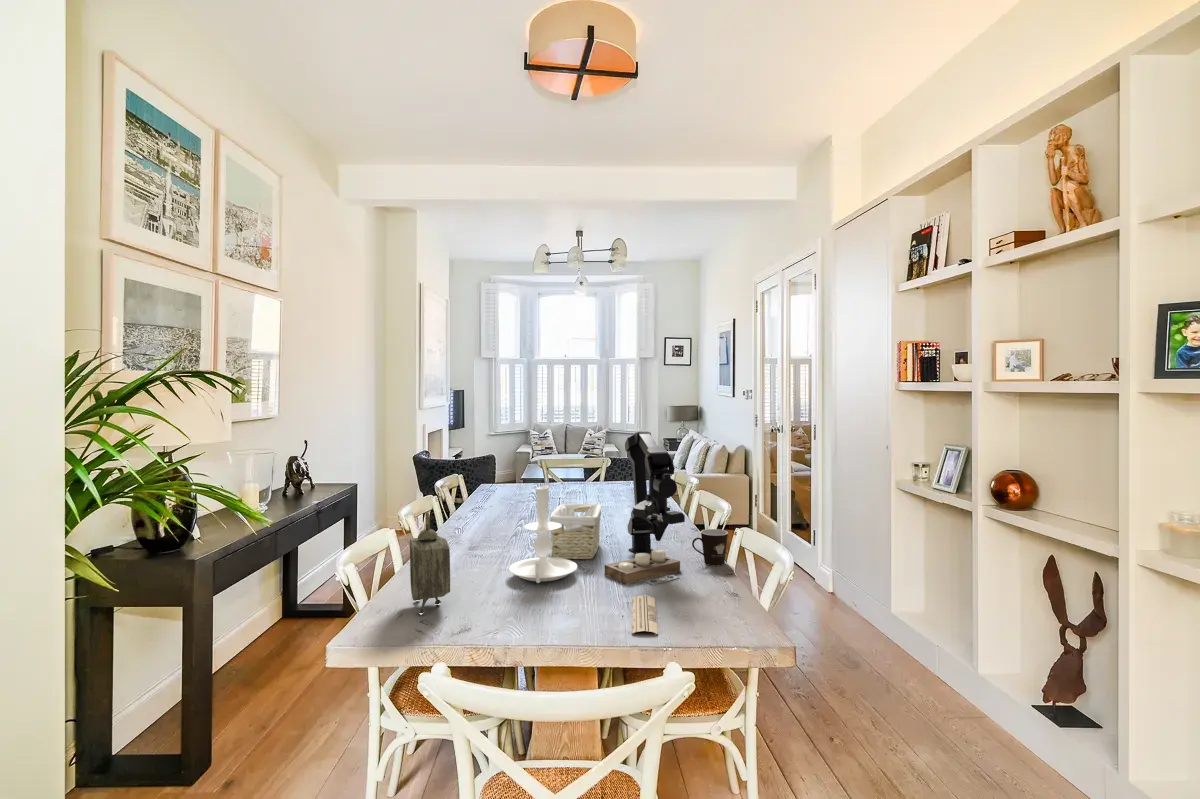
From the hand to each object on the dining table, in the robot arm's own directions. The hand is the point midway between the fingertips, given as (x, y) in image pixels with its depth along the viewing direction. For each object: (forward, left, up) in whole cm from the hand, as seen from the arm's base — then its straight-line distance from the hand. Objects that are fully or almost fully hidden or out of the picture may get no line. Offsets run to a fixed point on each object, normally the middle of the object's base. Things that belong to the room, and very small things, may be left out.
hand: (658, 540), depth 190 cm
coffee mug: (+5, +17, -9) cm, 20 cm away
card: (+9, -7, -9) cm, 14 cm away
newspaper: (+28, -28, -10) cm, 40 cm away
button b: (0, -7, -7) cm, 9 cm away
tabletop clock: (-11, -70, -9) cm, 71 cm away
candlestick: (-13, -35, -9) cm, 38 cm away
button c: (0, 0, -7) cm, 7 cm away
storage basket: (-32, -9, -9) cm, 35 cm away
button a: (0, -13, -8) cm, 15 cm away
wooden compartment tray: (0, -7, -9) cm, 11 cm away
